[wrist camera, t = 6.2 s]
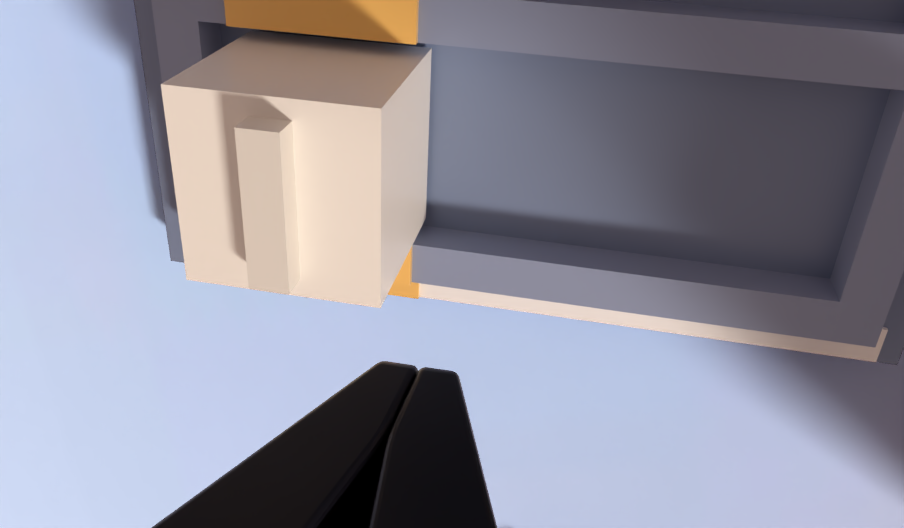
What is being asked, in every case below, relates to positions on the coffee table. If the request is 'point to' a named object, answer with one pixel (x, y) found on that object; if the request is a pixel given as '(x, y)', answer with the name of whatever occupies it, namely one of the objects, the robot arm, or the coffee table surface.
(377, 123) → the beige block with handle
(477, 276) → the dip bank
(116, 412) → the coffee table surface
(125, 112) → the coffee table surface
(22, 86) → the coffee table surface
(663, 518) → the coffee table surface
